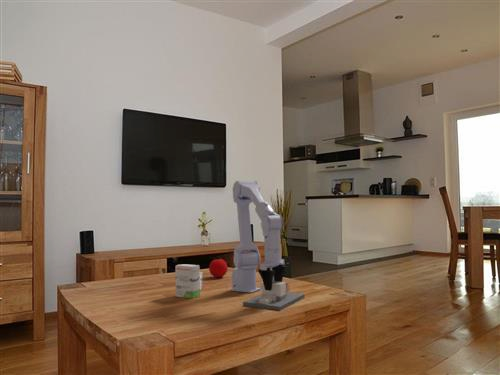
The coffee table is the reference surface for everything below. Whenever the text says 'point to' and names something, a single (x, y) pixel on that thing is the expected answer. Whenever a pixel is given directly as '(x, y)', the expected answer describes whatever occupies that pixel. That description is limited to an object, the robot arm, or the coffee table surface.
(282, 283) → the block
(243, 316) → the coffee table surface
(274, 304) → the rail board
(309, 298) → the coffee table surface
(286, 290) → the rail clip
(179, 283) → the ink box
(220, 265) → the ornament
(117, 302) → the coffee table surface
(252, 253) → the robot arm
